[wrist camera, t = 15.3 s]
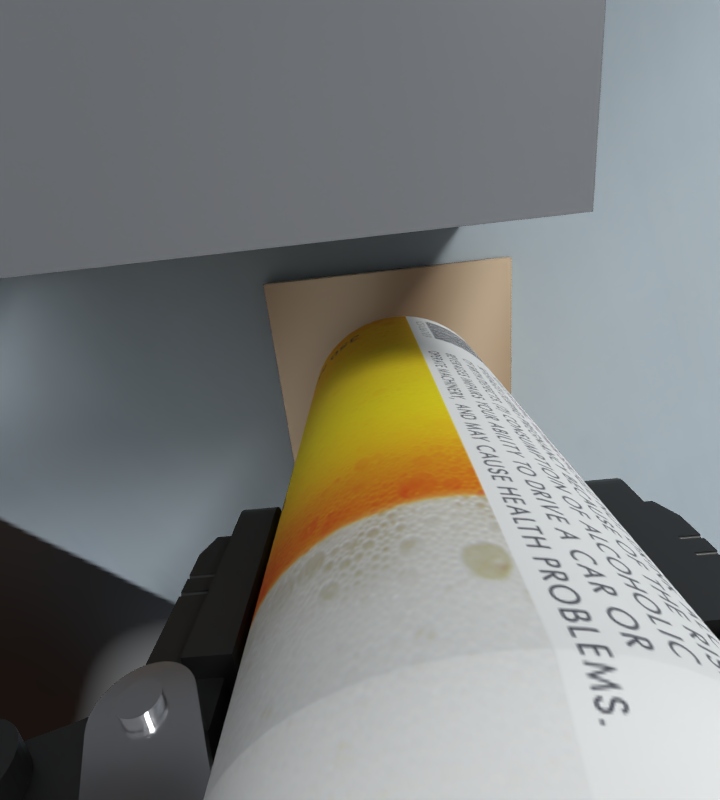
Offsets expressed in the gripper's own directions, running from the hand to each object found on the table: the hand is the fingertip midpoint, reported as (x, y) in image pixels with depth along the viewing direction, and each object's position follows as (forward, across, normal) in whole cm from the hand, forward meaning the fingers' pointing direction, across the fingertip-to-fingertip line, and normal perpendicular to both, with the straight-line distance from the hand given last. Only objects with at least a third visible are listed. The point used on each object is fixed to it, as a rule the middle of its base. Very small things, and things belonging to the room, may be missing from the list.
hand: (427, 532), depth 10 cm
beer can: (+9, 0, 0) cm, 9 cm away
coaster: (+10, 0, 0) cm, 10 cm away
